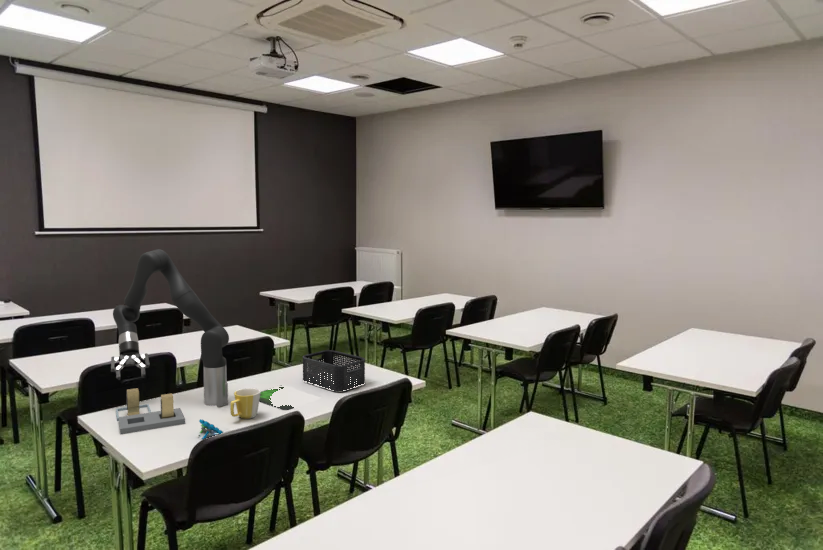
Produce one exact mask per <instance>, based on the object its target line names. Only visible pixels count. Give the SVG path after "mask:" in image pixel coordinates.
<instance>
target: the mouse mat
mask: <svg viewBox="0 0 823 550" xmlns="http://www.w3.org/2000/svg"><path fill="white" fill-rule="evenodd" d="M279 388H281V389H283V388H284V387H279ZM270 389H271V388H270ZM279 390H280V389H279ZM260 391H261V390H260ZM276 391H278V389H273V390H272V389H271V390H268V389H264V390H262V391H261V392H260V399H259V403H261V404H264V405H267V406H270V405H271V406H270V407H273V404H271V403H272V402H271V401H270V400H271V398H270V396H272V394H273V393H274V392H276ZM269 399H270V400H269ZM273 408H276V406H274V407H273ZM279 408H280V410H282V411H291V410H293V409H295V408H294V407H292V406H291V405H290V406H289V405H288V406H287V405H285V406H283V405H282V406H280V407H277V408H276V409H279Z"/></svg>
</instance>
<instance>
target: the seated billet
mask: <svg viewBox="0 0 823 550" xmlns="http://www.w3.org/2000/svg"><path fill="white" fill-rule="evenodd" d="M174 407H175V406H174V395H173V393H167V394H166V393H164V394H160V411H161V419H164V418H171V417H174V409H175V408H174Z"/></svg>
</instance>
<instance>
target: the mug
mask: <svg viewBox="0 0 823 550" xmlns="http://www.w3.org/2000/svg"><path fill="white" fill-rule="evenodd" d="M260 392H261V390H260V389H259V388H254V387H247V388H240V389H237V390H235V391H234V395H233V396H234V400H232V401H230V404H229V405H230V416H231V417H233V418H234V417H240V418H241V419H244V420H249V419H254V418H255V417H256V415H257V414H258V410H259V405H260V402H259V399H260ZM234 407H236V413H235V409H234Z"/></svg>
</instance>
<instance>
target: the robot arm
mask: <svg viewBox="0 0 823 550" xmlns="http://www.w3.org/2000/svg"><path fill="white" fill-rule="evenodd" d="M136 265H137V266H136V268H135V273H134V276H133V280H132V283H131V285H130V287H129V289H128V291H127V293H126V296H125V297H124V301H123V302H124V304H125V305H122V304H121V305H120V304H119V305H117V306H115V307H114V308H113V310H112V317H113V320H114V322H115V324H116V327H117V330H118V352H119V353H118V354H119V356H118V357H115V356H111V357H110V372H111V373H112V372H113V373H115V375H116V376H115V378H116V380H118V381H121V371H122V370H123V368H124V367H126V368H127V367H134V366H136V367H137V368H139V369H140V373H141V378H144V377H145V376H146V369H149V368H150V360H149V354H148V353H144V354H140V346H139V345H140V344H139V337H138V330H137V329H138V328H137V324H136V323H135V322H136V321H138V320H139V318H140V315H141V313H140V312H141V308H142V303H143V302H144V300H145V298H146V296H147V293H148V286H147V283H148V280H149V279H150V277H151V276H152V275H153V274H155V273H157V272H160V273H161V274H162V275H163V277H164V278H165V279H166V281H167V283H168V287H169V295H170V298H171V301H172V303H173V304H174V305H175V307H176V308H177V309H178V310H179V312H180V313H182V314H183V315H184V316H185V317H186V318H188V319H190V320H191V321H193V322H194V323H196V324H197V325H198V326H199V327H200V328H201V329H202V331H203V333H202V335H201V338H200V356H201V360H202V364H203V403H204V405H206V406H210V407H215V406H216V407H217V408H220V407H223V406H227V405H229V390H228V389H229V388H228V387H229V386H228V381H227V358H226V357H224V356H223V348H224V347H227V345H228V344H229V341H230V336H229V335H230V334H229V333H228V331H227V329H226V328H225V327H224V326H222V324H221V323H220V322H219V321H218V320H217V319H216V318H215V317H214V316H213V315H212V314H211V312H210V311H209V309H208V308H207V307H206V306H205V304H204V303H203V302H202V301H201V299H200V298H199V295H197V294H196V292H195V291H194V290H193V289H192V288H191V286H190V284H188V283H187V281H186V279H185V278H184V277H183V276H182V274H181V273H180V271H179V270H178V268H177V266H176V265H175V263H174V262H173V260H172V259H171V257H170V256H169V254H168V253H167V252H166V251H165V250H162V249H159V248H158V249H154V250H151V251H147V252H144V253H142V254H141V255H140V257H139V259H138V261H137V264H136ZM141 359H142V360H143V361H144V363H145V364H144V363H143V362H142V361H141ZM117 362H119V364H118V365H117V366H116V367H115V364H116V363H117Z"/></svg>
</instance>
